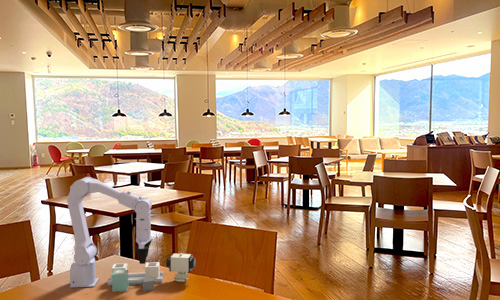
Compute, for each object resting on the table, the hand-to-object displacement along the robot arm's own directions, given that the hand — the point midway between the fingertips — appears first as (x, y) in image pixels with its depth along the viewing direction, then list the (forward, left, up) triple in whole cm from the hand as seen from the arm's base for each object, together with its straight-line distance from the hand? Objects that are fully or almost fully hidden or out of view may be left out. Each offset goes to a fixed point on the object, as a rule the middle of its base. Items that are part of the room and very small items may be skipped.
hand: (143, 260), depth 166 cm
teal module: (-9, -5, -10) cm, 14 cm away
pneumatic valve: (+15, +1, -10) cm, 18 cm away
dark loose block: (+2, -6, -10) cm, 12 cm away
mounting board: (-4, +4, -10) cm, 11 cm away
